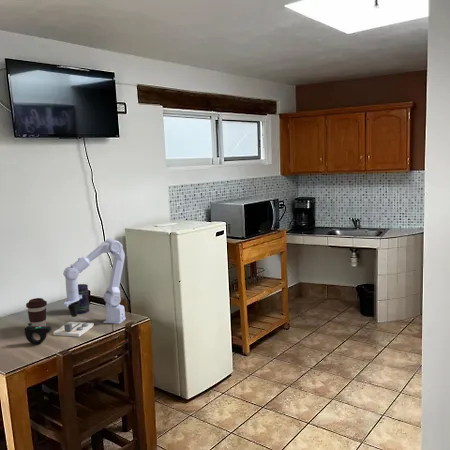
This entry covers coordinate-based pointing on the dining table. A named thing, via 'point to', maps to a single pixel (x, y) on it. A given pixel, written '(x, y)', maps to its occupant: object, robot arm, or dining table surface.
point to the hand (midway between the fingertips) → (74, 316)
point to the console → (74, 329)
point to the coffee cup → (37, 311)
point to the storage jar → (83, 299)
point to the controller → (38, 330)
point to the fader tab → (68, 326)
